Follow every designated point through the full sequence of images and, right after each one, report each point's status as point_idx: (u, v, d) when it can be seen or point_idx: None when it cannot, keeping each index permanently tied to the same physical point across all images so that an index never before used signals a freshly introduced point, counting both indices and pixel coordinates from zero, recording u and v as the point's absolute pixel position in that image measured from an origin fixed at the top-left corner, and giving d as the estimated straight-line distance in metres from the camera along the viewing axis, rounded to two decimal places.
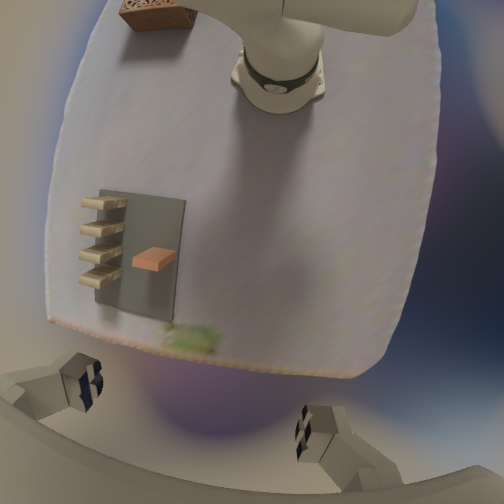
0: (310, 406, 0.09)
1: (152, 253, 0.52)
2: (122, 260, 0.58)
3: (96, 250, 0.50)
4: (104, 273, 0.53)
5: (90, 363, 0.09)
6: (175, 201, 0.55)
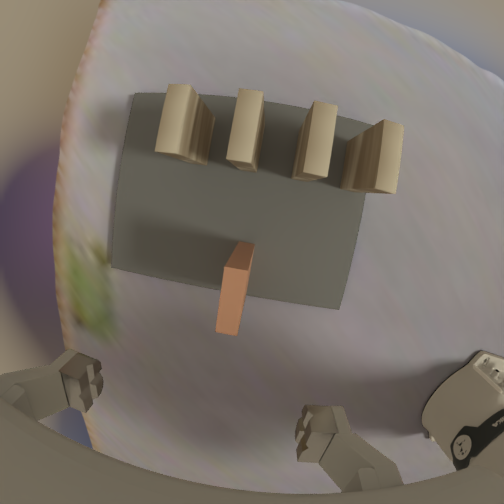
0: (310, 406, 0.09)
1: (248, 276, 0.25)
2: (223, 167, 0.28)
3: (258, 132, 0.20)
4: (197, 141, 0.22)
5: (90, 363, 0.09)
6: (340, 294, 0.30)
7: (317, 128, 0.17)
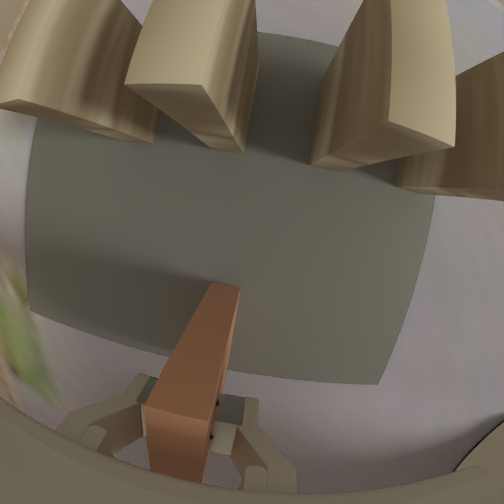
0: (221, 394, 0.09)
1: (223, 370, 0.11)
2: (181, 145, 0.14)
3: (240, 39, 0.07)
4: (113, 87, 0.09)
5: None
6: (382, 363, 0.16)
7: (409, 11, 0.04)
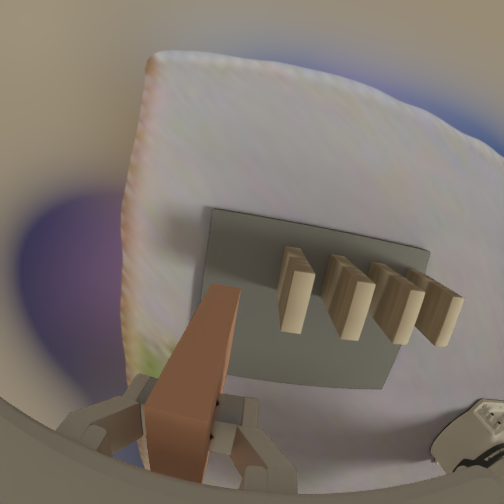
0: (221, 395, 0.09)
1: (223, 371, 0.11)
2: None
3: None
4: None
5: None
6: (384, 379, 0.34)
7: (408, 312, 0.21)
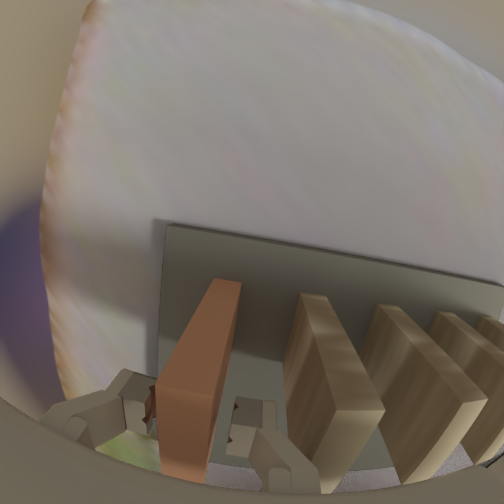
0: (239, 398, 0.09)
1: (226, 358, 0.12)
2: None
3: None
4: None
5: (152, 383, 0.09)
6: None
7: None
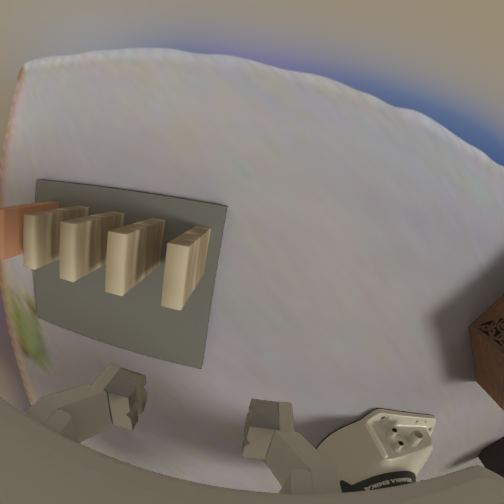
0: (255, 400, 0.09)
1: None
2: None
3: (89, 246, 0.23)
4: None
5: (137, 379, 0.09)
6: (199, 357, 0.33)
7: (111, 256, 0.21)
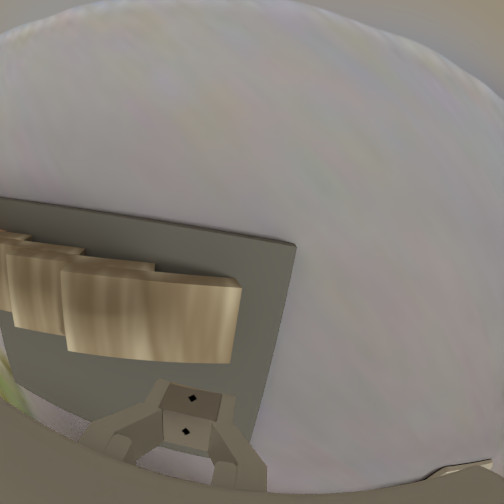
0: (199, 390, 0.09)
1: None
2: None
3: None
4: None
5: (191, 394, 0.09)
6: None
7: None
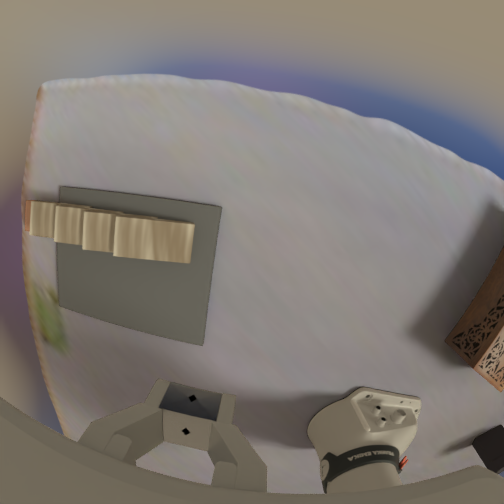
0: (199, 390, 0.09)
1: None
2: None
3: (71, 225, 0.34)
4: None
5: (191, 394, 0.09)
6: (200, 335, 0.40)
7: None
